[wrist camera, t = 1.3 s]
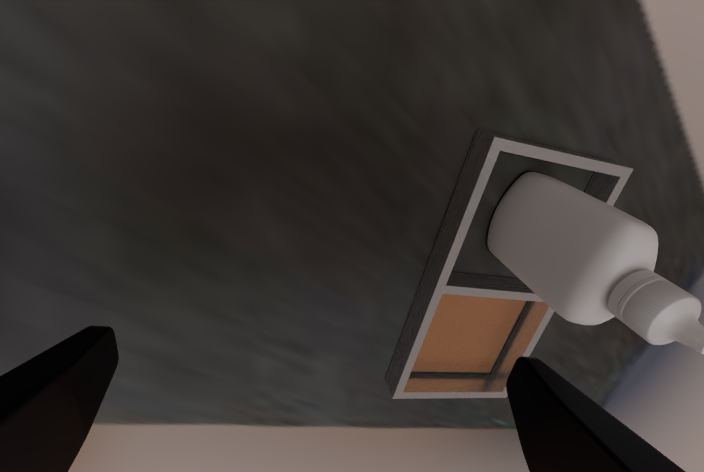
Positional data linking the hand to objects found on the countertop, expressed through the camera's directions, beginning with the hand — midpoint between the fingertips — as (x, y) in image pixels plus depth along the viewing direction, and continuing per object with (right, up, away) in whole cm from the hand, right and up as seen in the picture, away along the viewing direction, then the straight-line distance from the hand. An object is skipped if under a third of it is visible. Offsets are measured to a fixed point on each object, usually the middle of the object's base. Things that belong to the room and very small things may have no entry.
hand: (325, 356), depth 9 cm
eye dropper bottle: (+11, +4, +16) cm, 20 cm away
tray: (+10, 0, +18) cm, 20 cm away
